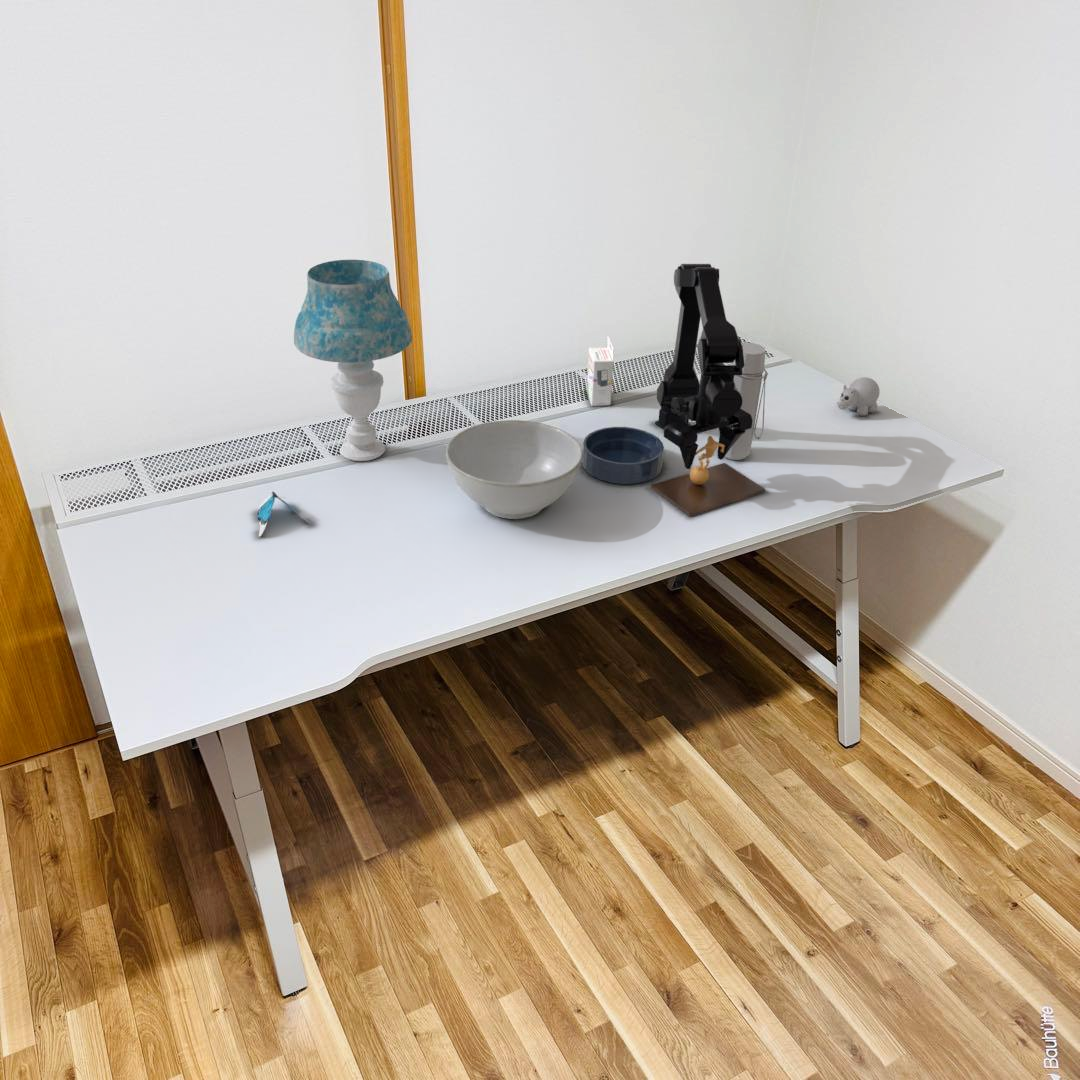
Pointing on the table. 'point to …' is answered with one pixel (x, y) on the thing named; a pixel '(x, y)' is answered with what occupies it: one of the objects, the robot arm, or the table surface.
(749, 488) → the walnut board
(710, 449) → the figurine
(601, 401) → the ink box
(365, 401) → the table lamp
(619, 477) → the basin
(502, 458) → the decorative bowl
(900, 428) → the table surface
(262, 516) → the decorative butterfly
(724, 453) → the robot arm
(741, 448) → the water bottle
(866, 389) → the chubby cartoon animal
